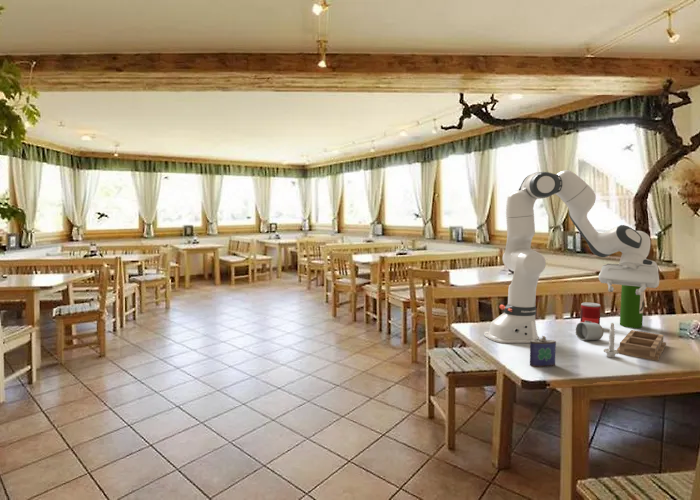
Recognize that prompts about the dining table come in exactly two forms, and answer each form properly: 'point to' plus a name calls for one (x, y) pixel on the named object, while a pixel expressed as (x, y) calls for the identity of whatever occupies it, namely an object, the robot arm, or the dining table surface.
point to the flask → (542, 352)
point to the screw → (611, 343)
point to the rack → (642, 345)
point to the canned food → (590, 312)
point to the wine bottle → (631, 307)
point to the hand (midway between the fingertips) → (623, 292)
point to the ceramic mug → (589, 331)
